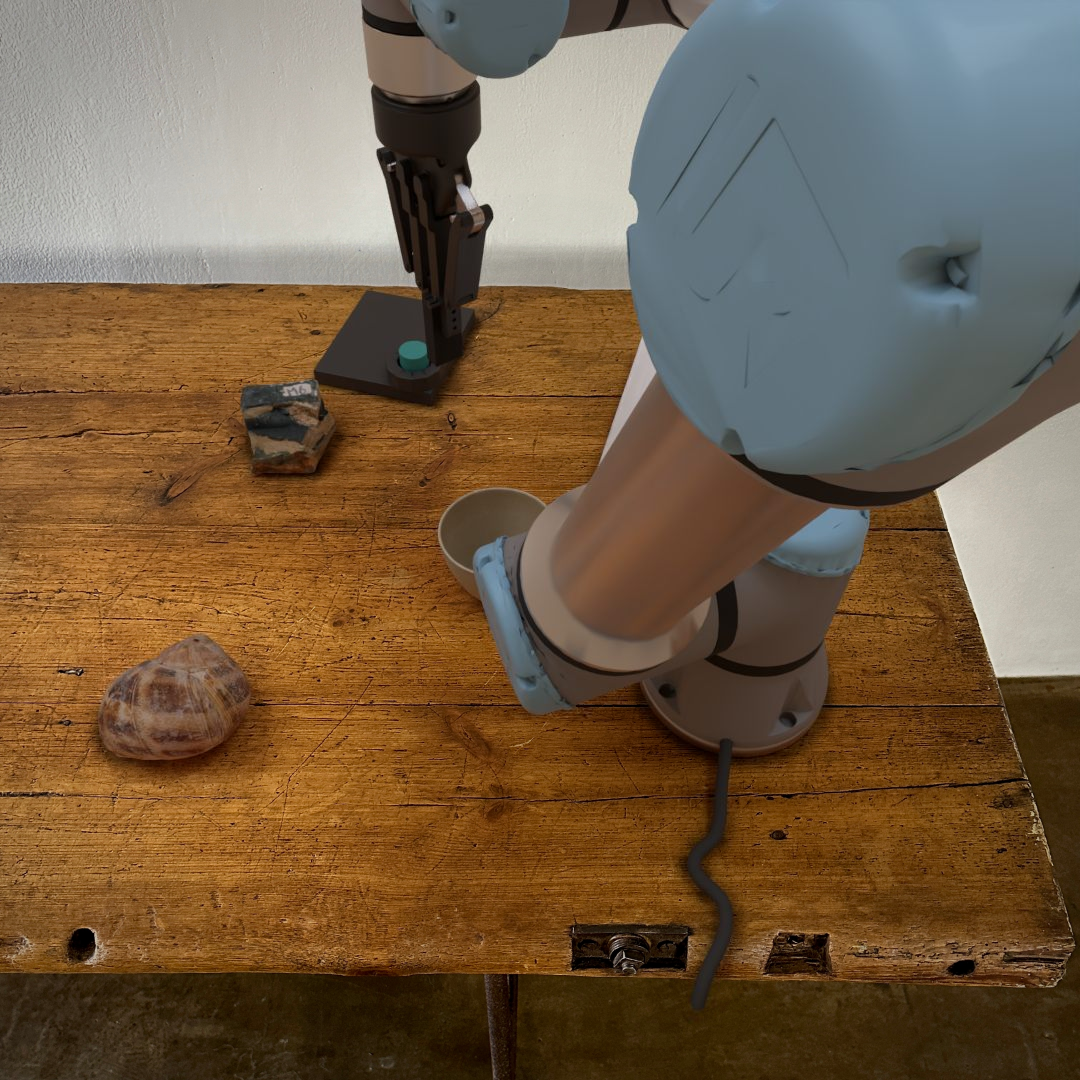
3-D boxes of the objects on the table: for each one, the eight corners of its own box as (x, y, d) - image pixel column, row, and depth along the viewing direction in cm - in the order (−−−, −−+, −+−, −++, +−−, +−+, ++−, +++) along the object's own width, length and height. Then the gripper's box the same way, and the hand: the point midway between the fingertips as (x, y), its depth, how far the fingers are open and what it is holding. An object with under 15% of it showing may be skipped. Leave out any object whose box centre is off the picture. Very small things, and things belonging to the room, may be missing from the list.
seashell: (186, 631, 81) (201, 601, 72) (258, 713, 81) (282, 692, 73) (74, 716, 75) (77, 694, 67) (153, 802, 76) (165, 792, 67)
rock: (251, 482, 93) (238, 439, 89) (250, 417, 99) (238, 374, 95) (341, 471, 94) (333, 428, 90) (336, 408, 100) (328, 365, 96)
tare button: (423, 374, 99) (422, 361, 98) (396, 369, 100) (394, 355, 99) (433, 356, 101) (432, 343, 100) (406, 351, 102) (404, 338, 100)
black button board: (434, 409, 101) (432, 383, 98) (313, 385, 103) (308, 359, 100) (479, 322, 110) (478, 296, 108) (368, 301, 112) (364, 276, 110)
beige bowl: (543, 638, 82) (545, 586, 77) (429, 617, 83) (423, 565, 78) (565, 550, 88) (568, 496, 83) (458, 532, 90) (455, 477, 84)
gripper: (524, 102, 64) (523, 381, 82) (422, 35, 71) (442, 306, 89) (427, 132, 61) (448, 414, 79) (331, 59, 68) (370, 334, 86)
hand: (445, 356), depth 84 cm, fingers closed
